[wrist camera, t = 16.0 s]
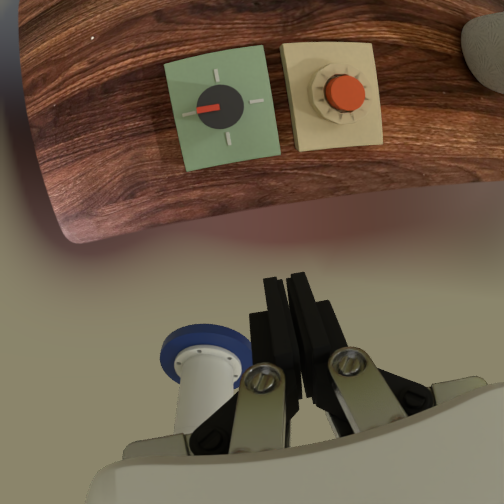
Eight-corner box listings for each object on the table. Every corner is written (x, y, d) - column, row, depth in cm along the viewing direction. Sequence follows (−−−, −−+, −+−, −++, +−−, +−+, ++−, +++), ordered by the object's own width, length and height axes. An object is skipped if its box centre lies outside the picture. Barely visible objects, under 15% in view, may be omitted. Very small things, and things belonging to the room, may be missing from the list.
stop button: (360, 109, 25) (367, 110, 24) (327, 111, 25) (333, 111, 24) (356, 76, 24) (363, 75, 22) (323, 77, 24) (328, 75, 22)
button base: (375, 141, 30) (390, 147, 27) (295, 148, 31) (302, 154, 27) (363, 46, 25) (378, 40, 21) (279, 47, 25) (285, 39, 21)
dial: (240, 85, 25) (240, 81, 21) (245, 122, 27) (246, 126, 23) (199, 91, 25) (192, 88, 21) (205, 128, 27) (199, 133, 23)
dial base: (277, 151, 31) (281, 155, 29) (189, 167, 31) (185, 172, 29) (260, 49, 25) (262, 44, 23) (169, 67, 25) (163, 64, 23)
